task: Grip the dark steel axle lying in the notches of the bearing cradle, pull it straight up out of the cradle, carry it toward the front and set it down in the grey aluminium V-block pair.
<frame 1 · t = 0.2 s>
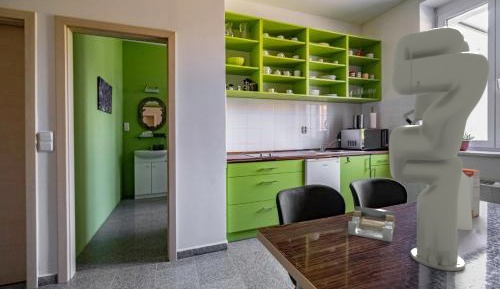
hand: (430, 136, 93), 36 cm above the table, tool pointing down, fingers open, 9 cm apart
milk: (447, 224, 103), on the table
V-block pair: (370, 234, 94), on the table
cracker box: (458, 213, 119), on the table
bearing cradle: (374, 226, 102), on the table
steel axle: (374, 218, 102), point 3 cm above the table, touching bearing cradle
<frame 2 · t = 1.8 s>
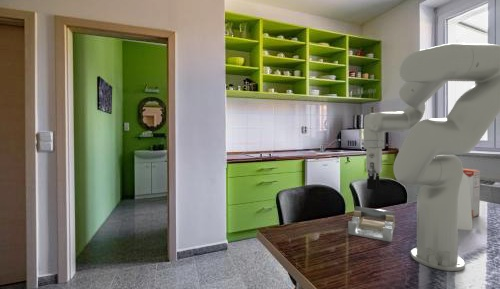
hand: (373, 187, 102), 16 cm above the table, tool pointing down, fingers open, 9 cm apart
nothing on the table moved.
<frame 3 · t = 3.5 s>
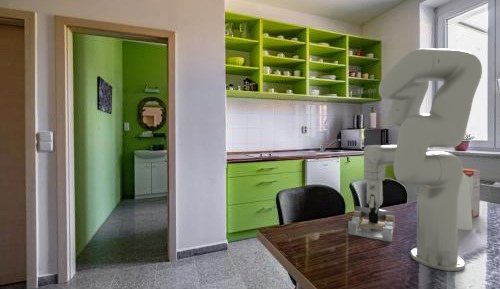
hand: (374, 220, 102), 2 cm above the table, tool pointing down, fingers closed on steel axle, 4 cm apart
steel axle: (374, 218, 102), point 3 cm above the table, touching bearing cradle, gripper
everything else where it was.
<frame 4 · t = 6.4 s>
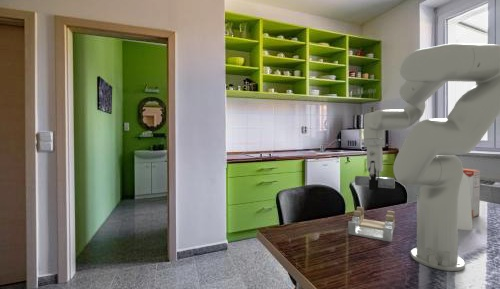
hand: (374, 188, 101), 15 cm above the table, tool pointing down, fingers closed on steel axle, 4 cm apart
steel axle: (374, 186, 101), point 16 cm above the table, touching gripper
everything else where it was.
when the fingers open (3 cm above the table, at t = 9.5 s): steel axle drops 2 cm, resting on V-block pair.
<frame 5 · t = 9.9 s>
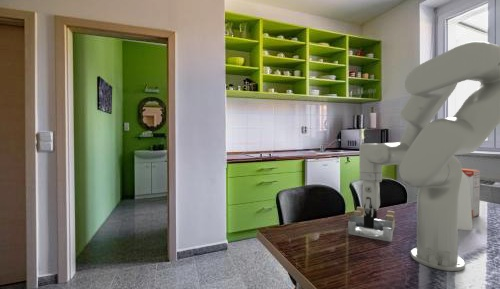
hand: (370, 223, 93), 4 cm above the table, tool pointing down, fingers open, 7 cm apart
steel axle: (370, 228, 93), point 2 cm above the table, touching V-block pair
everything else where it was.
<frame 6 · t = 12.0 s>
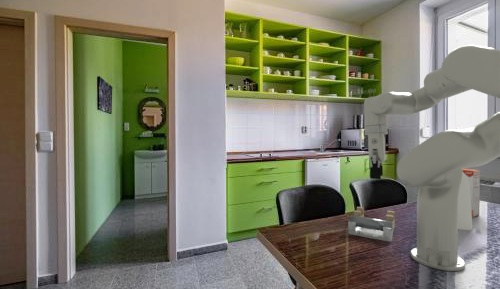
hand: (376, 177, 93), 21 cm above the table, tool pointing down, fingers open, 9 cm apart
steel axle: (370, 228, 93), point 2 cm above the table, tilted 9°, touching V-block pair
everything else where it was.
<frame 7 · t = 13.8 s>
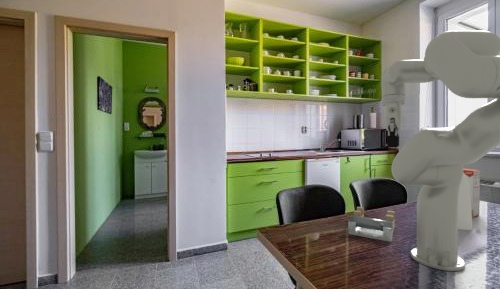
hand: (393, 146, 94), 32 cm above the table, tool pointing down, fingers open, 9 cm apart
nothing on the table moved.
at the end: steel axle 0.1 cm off-centre on the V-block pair, point 2.0 cm above the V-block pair's base; steel axle tilted 9°; the gripper is holding nothing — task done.
